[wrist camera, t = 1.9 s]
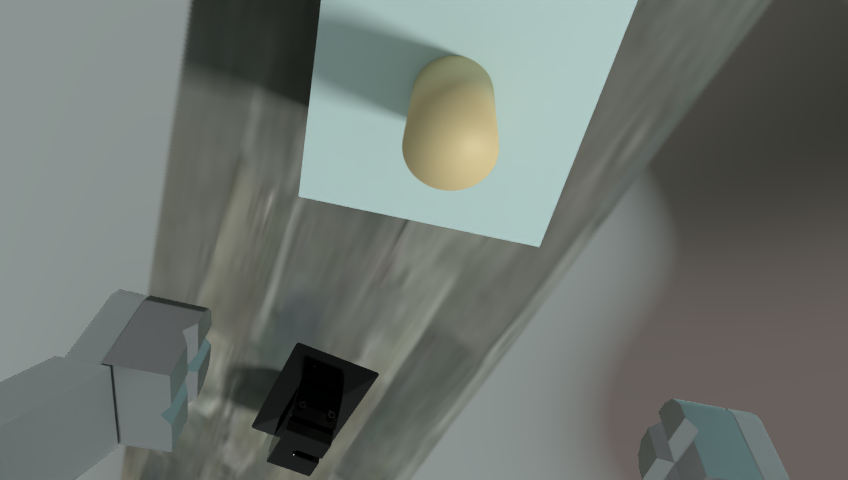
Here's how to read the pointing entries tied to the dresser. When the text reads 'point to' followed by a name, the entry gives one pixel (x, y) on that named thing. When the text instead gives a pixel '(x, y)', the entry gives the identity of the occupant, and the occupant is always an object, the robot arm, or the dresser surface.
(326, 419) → the black stepped block
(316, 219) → the dresser surface
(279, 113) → the dresser surface
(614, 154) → the dresser surface
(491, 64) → the lid
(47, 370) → the robot arm
